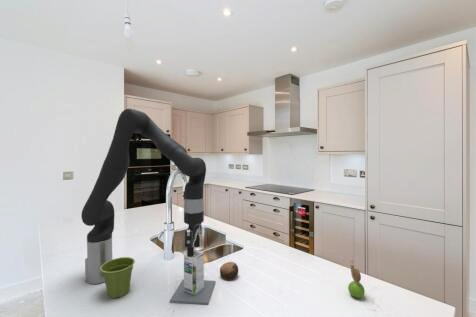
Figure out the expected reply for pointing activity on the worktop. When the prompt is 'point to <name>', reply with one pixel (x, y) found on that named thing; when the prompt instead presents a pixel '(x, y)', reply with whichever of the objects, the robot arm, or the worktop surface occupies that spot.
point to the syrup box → (194, 272)
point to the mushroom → (229, 270)
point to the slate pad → (189, 298)
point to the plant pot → (118, 276)
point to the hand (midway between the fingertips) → (193, 251)
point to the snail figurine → (356, 283)
